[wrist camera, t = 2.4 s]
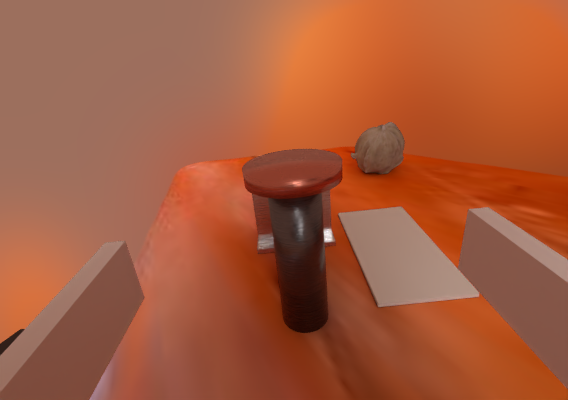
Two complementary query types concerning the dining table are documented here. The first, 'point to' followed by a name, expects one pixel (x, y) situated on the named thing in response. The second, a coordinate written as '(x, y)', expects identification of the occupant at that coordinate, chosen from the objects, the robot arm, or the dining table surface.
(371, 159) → the grey round lumpy ball
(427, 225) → the dining table surface
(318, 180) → the hook
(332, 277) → the dining table surface
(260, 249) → the grey u-shaped bracket
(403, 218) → the pad
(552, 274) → the robot arm
